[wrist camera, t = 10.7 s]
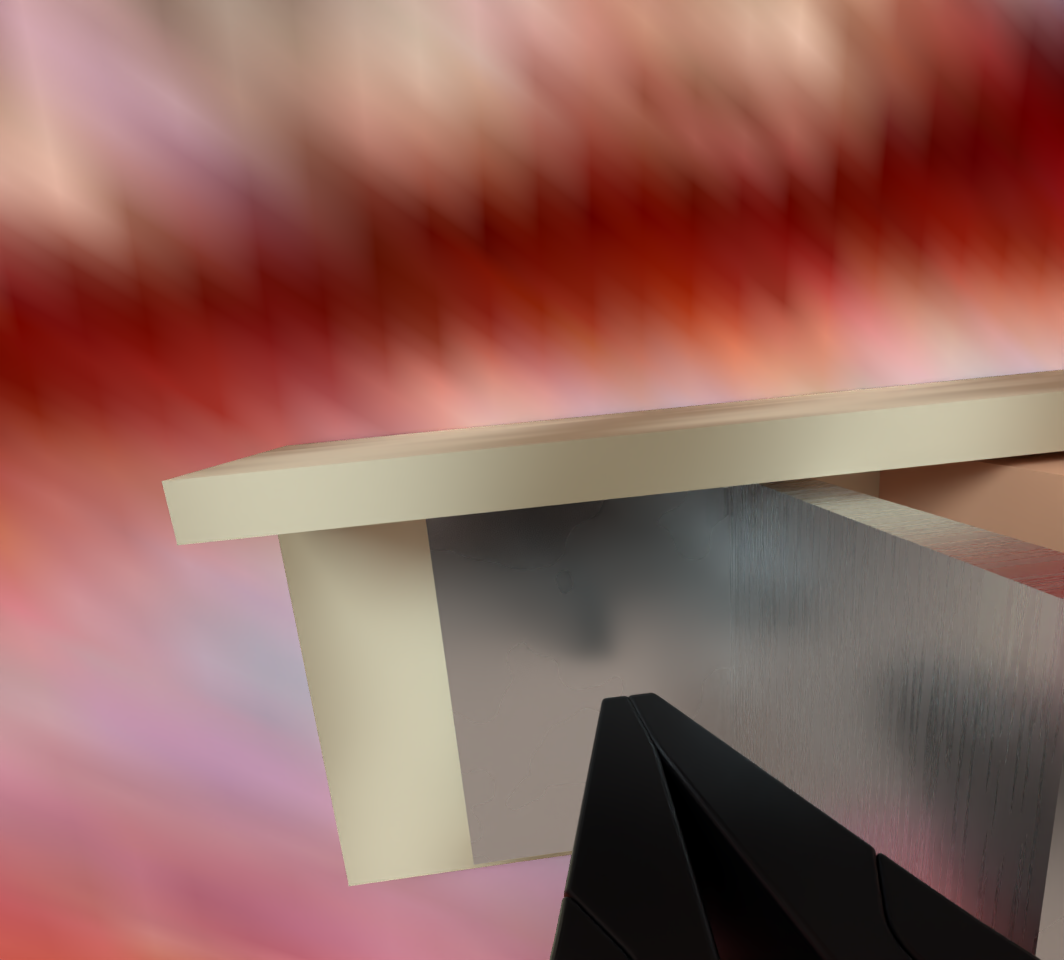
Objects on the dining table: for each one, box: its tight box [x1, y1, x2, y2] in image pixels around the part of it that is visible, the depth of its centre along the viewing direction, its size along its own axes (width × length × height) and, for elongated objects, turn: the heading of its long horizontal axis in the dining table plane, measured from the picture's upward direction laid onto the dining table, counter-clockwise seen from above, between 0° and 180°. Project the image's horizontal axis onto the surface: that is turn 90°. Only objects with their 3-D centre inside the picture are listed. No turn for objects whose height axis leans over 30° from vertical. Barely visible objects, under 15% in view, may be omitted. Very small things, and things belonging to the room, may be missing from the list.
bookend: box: [426, 478, 1064, 960], centre depth 6 cm, size 6×7×6 cm
